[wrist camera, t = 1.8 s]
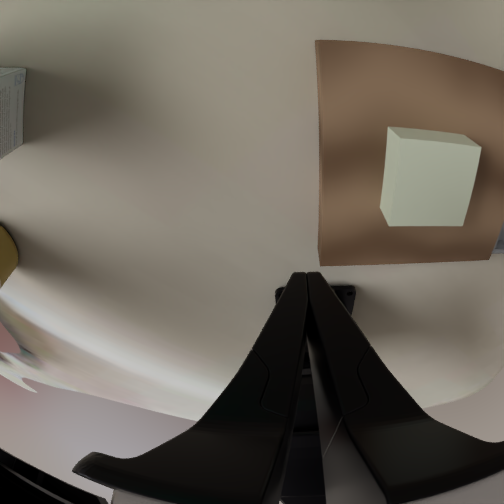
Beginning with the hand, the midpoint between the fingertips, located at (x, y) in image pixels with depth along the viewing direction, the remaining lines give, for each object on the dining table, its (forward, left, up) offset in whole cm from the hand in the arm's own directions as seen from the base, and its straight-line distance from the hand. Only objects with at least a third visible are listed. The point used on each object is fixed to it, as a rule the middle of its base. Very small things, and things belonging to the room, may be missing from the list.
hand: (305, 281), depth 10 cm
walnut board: (0, -8, -11) cm, 14 cm away
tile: (0, -7, -9) cm, 11 cm away
